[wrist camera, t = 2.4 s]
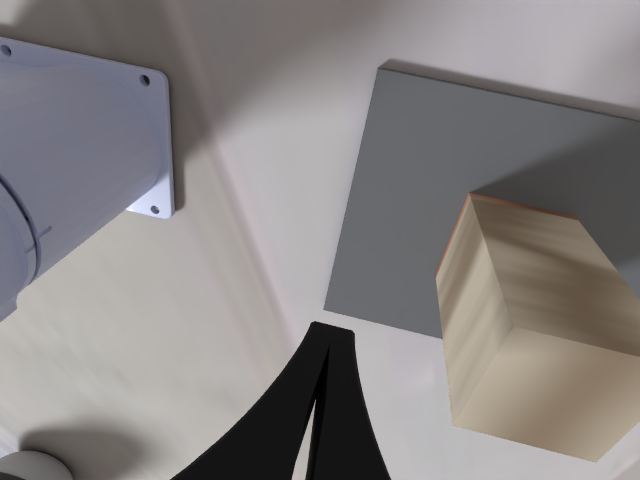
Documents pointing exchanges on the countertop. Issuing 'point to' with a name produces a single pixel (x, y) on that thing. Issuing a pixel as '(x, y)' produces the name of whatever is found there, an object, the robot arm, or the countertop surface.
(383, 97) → the mat
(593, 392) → the block
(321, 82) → the countertop surface
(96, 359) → the countertop surface
